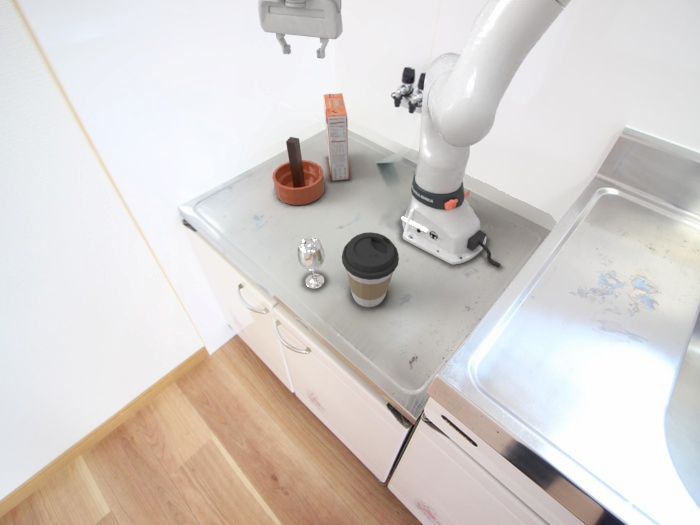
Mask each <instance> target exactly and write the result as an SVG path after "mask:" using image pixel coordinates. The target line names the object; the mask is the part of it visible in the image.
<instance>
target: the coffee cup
mask: <svg viewBox="0 0 700 525" xmlns="http://www.w3.org/2000/svg"><path fill="white" fill-rule="evenodd" d="M399 255H400V254H399V252H398V248H397V247H396V246H395V244H394V243H393V242H392V240H391V238H388V237H387V236H385V235H384V234H381V233H379V232H362V233H359V234H357V235H355V236H353V237H352V238H351V239H350V240H349V241H348V242H347V243H346V244H345V246H344V247H343V250H342V255H341V262H342V265H343V267H344V268H345V270H346V275H347V278H348V282H349V287H350V291H351V296H352V297H353V300H354V301H355V303H356V304H357V305H359V306H361V307H363V308H374V307H377V306H378V305H380V304H381V303H382V302H383V301H384V299H385V297H386V295H387V291H388V289H389V286H390V282H391V279H392V276H393V273H394V272H395V270H396V269H397V267H398V266H399V260H400V256H399Z"/></svg>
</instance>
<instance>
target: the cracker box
mask: <svg viewBox="0 0 700 525" xmlns="http://www.w3.org/2000/svg"><path fill="white" fill-rule="evenodd" d="M323 108H324V109H323V110H324V122H325V123H324V124H325V132H326V133H325V135H326V144H327V146H326V147H327V158H328V165H329V171H330V173H329V174H330V179H331V181H332V182H335V181H336V182H337V181H345V180H346V181H348V180H350V163H349V160H350V159H349V130H348V129H349V128H348V126H349V125H348V113H347V109H346V104H345V100H344V95H343V93H325V94H323Z"/></svg>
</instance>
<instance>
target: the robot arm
mask: <svg viewBox="0 0 700 525" xmlns="http://www.w3.org/2000/svg"><path fill="white" fill-rule="evenodd" d="M571 1H572V0H486V1H485V2H484V4H483V5H482V7H481V8H480V10H479V12H478V13H477V14H476V16H475V18H474V21H473V23H472V28H471V30H470V33H469V35H468V38H467V40H466V42H465V44H464V47H463V49H462V51H461V53H457V52H446V53H443V54H440V55H438V56H437V57H436V58H435V59H434V60H432V62H431V63H430V64H429V66H428V67H427V69H426V71H425V75H424V80H423V91H422V100H421V103H422V104H421V112H420V131H419V147H418V153H417V154H418V155H417V161H416V168H415V173H414V175H413V177H412V182H411V188H410V189H411V191H410V192H411V195H410V199H409V203H408V205H407V209H406V211H405V213H404V214H403V216H401V225H402V230H403V232H402V236H401V237H402V239H403V240H404V241H406V242H407V243H409V244H411V245H413V246H415V247H417V248H419V249H421V250H423V251H425V252H426V253H428V254H430V255H432V256H434V257H435V258H437V259H439V260H442V261H443V262H445V263H448V264H450V265H460V264H464V263H467V262H469V261H470V260H472V259H473V258H475V257H477V256H478V255H479V254H480V253H481V252H482V251H483V250H484V251H485V253H486V259H487V261H488V262H489V263H490V264H492V265H493V266H496V267H497V268H499V267H500V266H501V263H499V262H497V261H495V260H493V259H492V252H491V250H490V249H489V247H487V245H486V244H487V233H485V232H484V231H482V230H481V221H480V218H479V217H478V216H477V214H476V213H475V209H474V208H473V207H472V206H471V205H470V204H469V203H468V201H467V200H466V199H465V198H467V197H468V196H469V195H470V192H471V190H469V189H468V190H467V191H465V186H464V177H465V172H466V169H467V165H468V162H469V158H470V154H471V146H474V145H475V144H478V143H479V142H481V141H482V140H483V139H485V137H487V136H488V134H489V133H490V131H491V129H492V128H493V126H494V123H495V119H496V115H497V111H498V108H499V106H500V104H501V101H502V99H503V97H504V96H505V93H506V92H507V89H508V88H509V86H510V85H511V83H512V81H513V79H514V77H515V76H516V74H517V72H518V71H519V68H520V67H521V66H522V64H523V62H524V60H526V58H527V56H528V55H529V54H530V53H531V51H532V49H533V48H534V47H535V46H536V44H537V43H538V42H539V41H540V40H541V38H542V37H543V36H544V35H545V33H547V31H548V30H549V29H550V27H551V26H552V25H553V23H554V22H555V21H556V20H557V19H558V17H559V16H560V15H561V14H562V13H563V11H564V9H566V7H568V6H569V4H570V3H571ZM341 10H342V0H258V1H257V11H258V18H259V25H260V28H261V29H262V30H263V32H265V33H269V34H275V37H276V40H277V42H278V43H279V45H280V47H281V51H282V54H283V55H290V54H291V53H292V48H291V44H288V42H287V40H286V38H285V37H286V35H287V36H288V35H289V36H297V37H306V38H307V37H308V38H317V39H318V38H319V43H320V44H321V46H320V47H319V48H318V49H316V58H317V59H325V58H326V48H327V46H328V43H329V42H330V40H337V39H338V38H339V37H340V36H341V35H342V34H343V31H344V27H343V18H342V17H343V16H342V11H341Z"/></svg>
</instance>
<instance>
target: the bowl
mask: <svg viewBox="0 0 700 525" xmlns="http://www.w3.org/2000/svg"><path fill="white" fill-rule="evenodd" d="M302 164H303V172H304V179H305V187H299V188H294V187H293V181H292V175H291V169H290V163H289V161H287V162H284V163H282V164H280V165H279V166H277V167H276V168H275V169H274V170H273V172H272V176H271V177H272V178H271V179H272V182H273V188H274V192H275V195H276V197H277V199H279V200H280V201H281V202H283V203H285V204H288V205H294V206H301V205H307V204H310V203H313V202H315V201H317V200H318V199H319V198H321V197H322V196H324V192H325V175H324V173H325V172H324V170H323V167H322V166H321V165H319V164H318V163H317V162H314V161H311V160H306V159H302Z"/></svg>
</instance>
